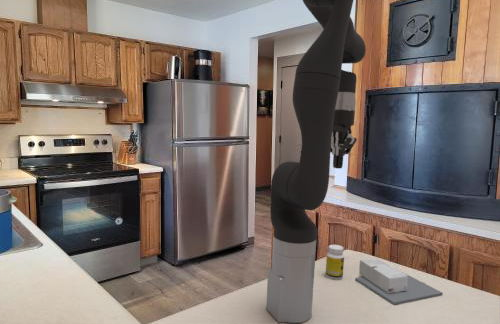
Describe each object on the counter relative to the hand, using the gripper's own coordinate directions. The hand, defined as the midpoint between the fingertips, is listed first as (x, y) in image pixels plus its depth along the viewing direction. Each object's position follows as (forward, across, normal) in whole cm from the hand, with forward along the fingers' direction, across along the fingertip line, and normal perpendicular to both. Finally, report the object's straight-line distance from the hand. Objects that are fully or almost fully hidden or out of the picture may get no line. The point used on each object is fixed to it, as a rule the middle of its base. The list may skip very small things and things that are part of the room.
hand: (337, 168), depth 107 cm
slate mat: (+29, +20, +7) cm, 36 cm away
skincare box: (+26, +11, +4) cm, 29 cm away
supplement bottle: (+29, +9, -5) cm, 31 cm away
